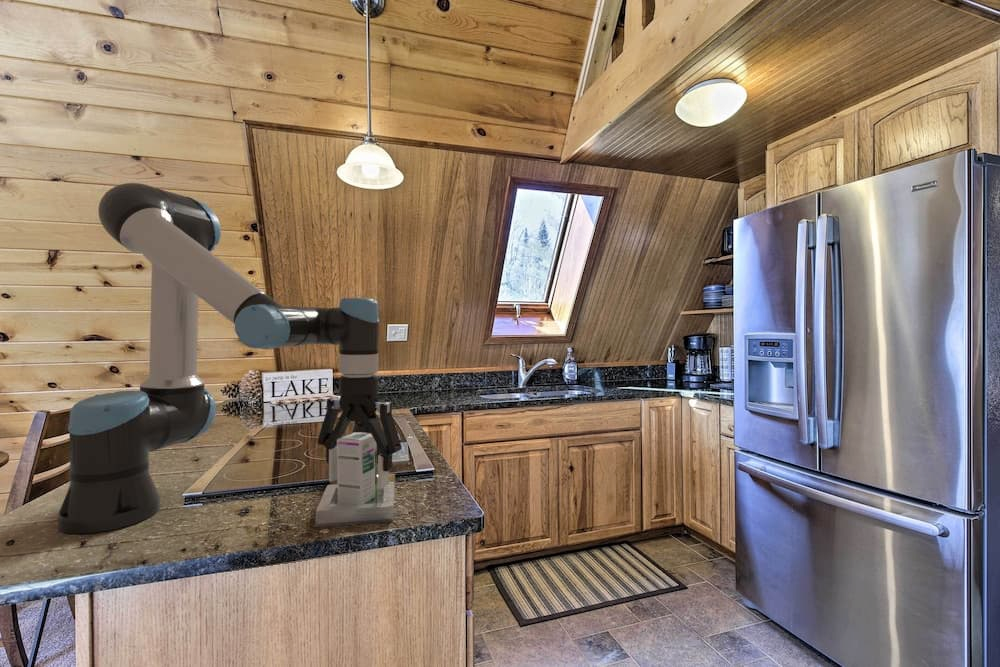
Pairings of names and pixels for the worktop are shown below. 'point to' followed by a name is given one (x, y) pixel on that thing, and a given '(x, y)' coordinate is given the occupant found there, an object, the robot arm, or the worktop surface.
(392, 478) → the brass rod
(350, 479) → the syrup box
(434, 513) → the worktop surface
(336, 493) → the collar
